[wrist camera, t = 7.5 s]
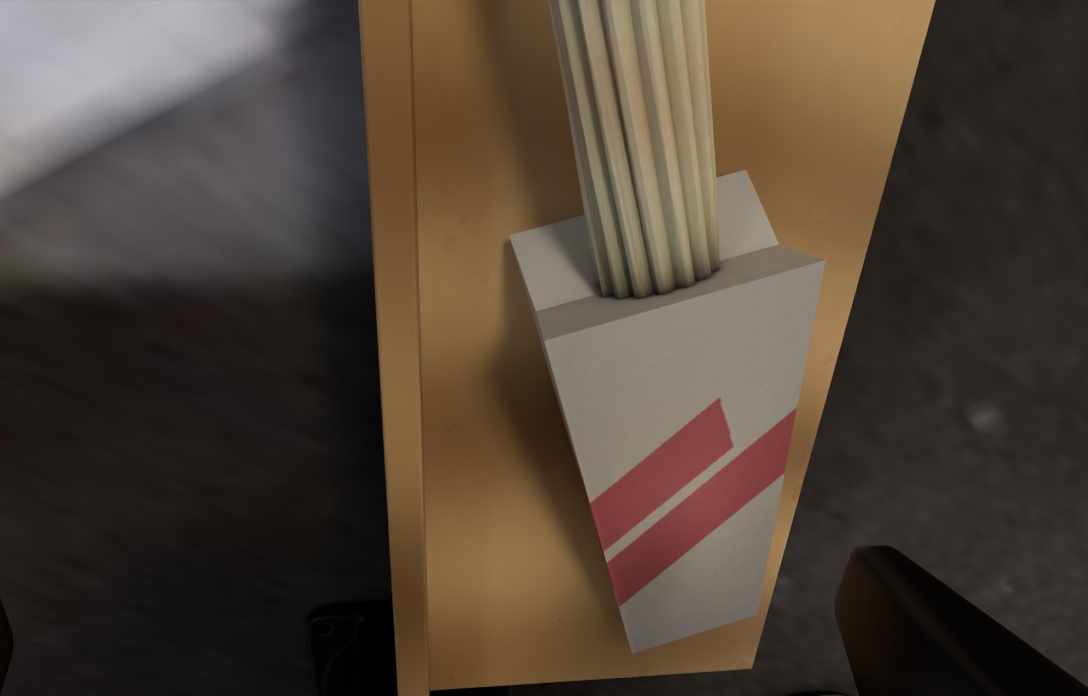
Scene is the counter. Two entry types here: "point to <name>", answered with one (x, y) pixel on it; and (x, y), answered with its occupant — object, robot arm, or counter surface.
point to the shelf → (507, 322)
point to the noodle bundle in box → (667, 323)
